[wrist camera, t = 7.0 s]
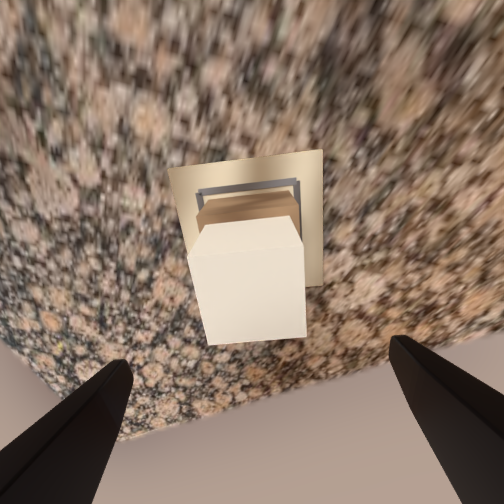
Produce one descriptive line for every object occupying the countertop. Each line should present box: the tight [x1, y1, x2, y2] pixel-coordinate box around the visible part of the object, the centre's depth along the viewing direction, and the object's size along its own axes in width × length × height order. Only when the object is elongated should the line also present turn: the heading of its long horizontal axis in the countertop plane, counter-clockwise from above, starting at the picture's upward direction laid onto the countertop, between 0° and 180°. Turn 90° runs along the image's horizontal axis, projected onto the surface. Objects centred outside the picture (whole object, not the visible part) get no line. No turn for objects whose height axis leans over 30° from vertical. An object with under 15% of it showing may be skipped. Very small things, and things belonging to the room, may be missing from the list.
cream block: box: [187, 216, 307, 345], centre depth 14 cm, size 5×5×4 cm
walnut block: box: [196, 190, 300, 237], centre depth 18 cm, size 6×6×4 cm
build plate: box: [167, 149, 323, 287], centre depth 20 cm, size 11×11×1 cm
